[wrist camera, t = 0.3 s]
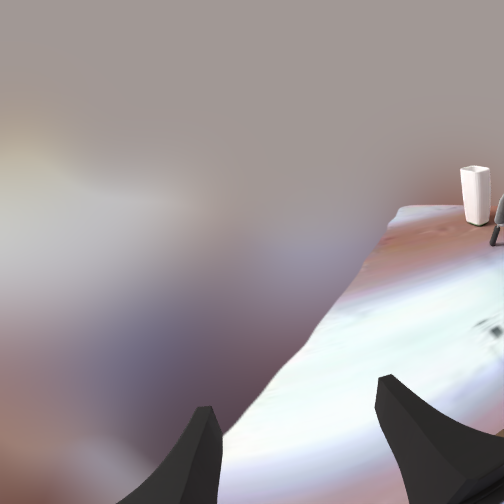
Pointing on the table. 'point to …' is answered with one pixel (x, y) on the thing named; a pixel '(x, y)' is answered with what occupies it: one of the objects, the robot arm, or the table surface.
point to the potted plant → (498, 221)
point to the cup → (476, 194)
